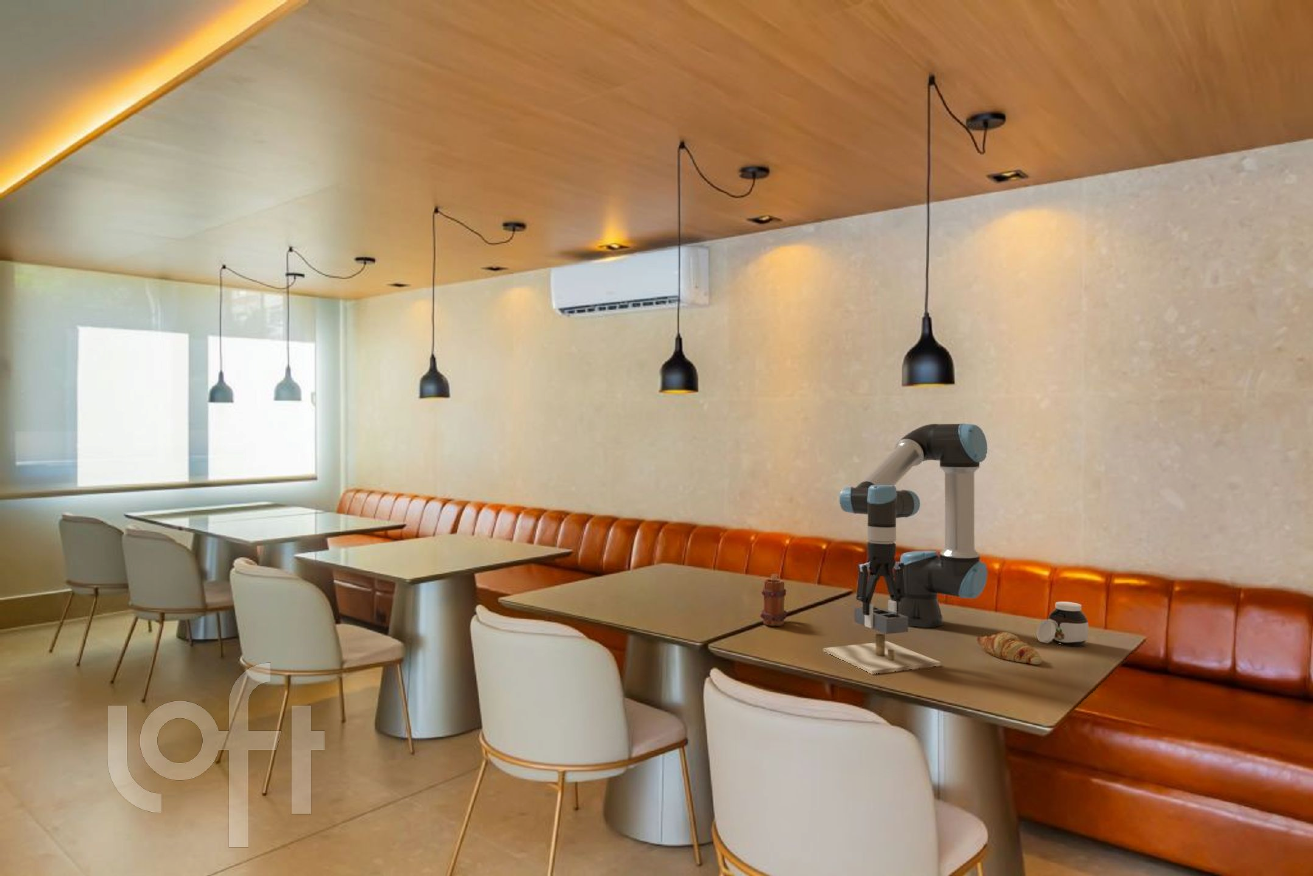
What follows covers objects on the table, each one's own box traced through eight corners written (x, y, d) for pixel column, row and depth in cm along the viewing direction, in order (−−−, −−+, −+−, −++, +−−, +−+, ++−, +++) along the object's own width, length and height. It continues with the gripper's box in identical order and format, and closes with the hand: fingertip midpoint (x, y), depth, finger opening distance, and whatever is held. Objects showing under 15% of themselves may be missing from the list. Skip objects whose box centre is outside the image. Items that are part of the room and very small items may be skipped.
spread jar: (1092, 645, 230) (1092, 606, 230) (1069, 650, 224) (1069, 610, 224) (1053, 636, 240) (1053, 598, 240) (1030, 641, 234) (1031, 602, 234)
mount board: (887, 644, 229) (887, 622, 229) (940, 665, 208) (940, 641, 208) (822, 651, 221) (823, 628, 220) (871, 674, 200) (872, 649, 200)
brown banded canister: (785, 629, 246) (786, 581, 246) (759, 627, 247) (760, 580, 247) (787, 618, 260) (788, 573, 260) (762, 617, 262) (763, 571, 261)
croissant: (1048, 679, 210) (1058, 651, 211) (1025, 665, 206) (1036, 637, 207) (983, 656, 229) (993, 631, 230) (961, 643, 225) (972, 618, 226)
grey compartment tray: (908, 631, 209) (908, 616, 209) (886, 634, 206) (886, 618, 206) (875, 619, 222) (875, 605, 222) (854, 621, 219) (854, 607, 219)
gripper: (902, 538, 221) (901, 619, 221) (842, 541, 214) (841, 625, 214) (920, 542, 214) (919, 625, 214) (859, 545, 207) (858, 632, 207)
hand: (880, 625), depth 214 cm, fingers closed on grey compartment tray, 7 cm apart
